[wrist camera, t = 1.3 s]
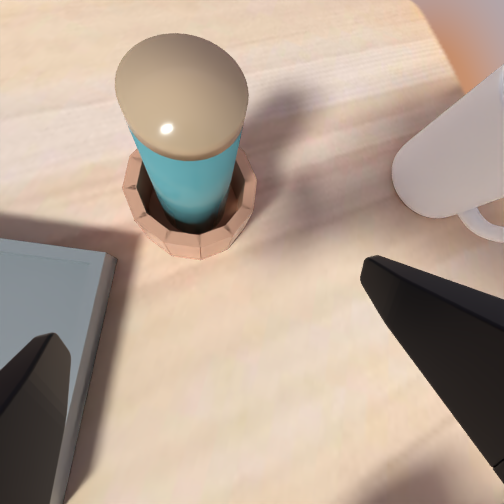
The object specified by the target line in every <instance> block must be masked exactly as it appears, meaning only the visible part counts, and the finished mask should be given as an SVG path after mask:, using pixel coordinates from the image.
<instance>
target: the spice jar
mask: <svg viewBox="0 0 504 504" xmlns="http://www.w3.org/2000/svg"><path fill="white" fill-rule="evenodd" d="M115 91H116V96H117V99H118V103H119V105H120V107H121V110H122V112H123V115H124V117H125V120H126V122H127V124H128V127H129V129H130V132H131V134H132V136H133V139H134V141H135V144H136V146H137V148H138V151H139V153H140V156H141V158H142V160H143V163H144V165H145V168H146V170H147V173H148V175H149V177H150V180H151V182H152V185H153V187H154V189H155V192H156V194H157V197H158V199H159V201H160V204H161V206H162V209H163V211H164V213H165V216H166V218H167V220H168V221H169V222H170V224H171V225H172V226H174V227H175V228H176V229H178V230H179V231H181V232H184V233H188V234H202V233H206V232H208V231H210V230H212V229H213V228H215V227H216V226H217V225H218V224H219V222H220V221H221V219H222V217H223V215H224V211H225V206H226V202H227V197H228V192H229V188H230V183H231V179H232V174H233V169H234V165H235V160H236V156H237V151H238V147H239V142H240V137H241V133H242V128H243V124H244V119H245V114H246V110H247V105H248V96H249V95H248V87H247V82H246V79H245V77H244V74H243V72H242V71H241V69H240V67H239V66H238V64H237V63H236V62H235V60H234V59H233V58H232V57H231V56H230V55H229V54H228V53H227V52H225V51H224V50H223V49H221V48H220V47H219V46H217V45H215V44H213V43H212V42H210V41H207V40H205V39H203V38H200V37H196V36H192V35H187V34H178V33H175V34H162V35H157V36H153V37H151V38H148V39H145V40H143V41H142V42H140V43H138V44H137V45H135V46H134V47H132V48H131V49H130V50H129V51H128V52H127V53H126V55H125V56H124V57H123V58H122V60H121V62H120V64H119V66H118V69H117V72H116V77H115Z"/></svg>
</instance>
